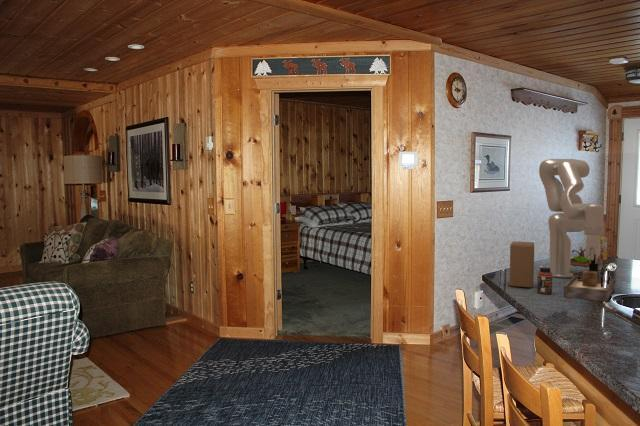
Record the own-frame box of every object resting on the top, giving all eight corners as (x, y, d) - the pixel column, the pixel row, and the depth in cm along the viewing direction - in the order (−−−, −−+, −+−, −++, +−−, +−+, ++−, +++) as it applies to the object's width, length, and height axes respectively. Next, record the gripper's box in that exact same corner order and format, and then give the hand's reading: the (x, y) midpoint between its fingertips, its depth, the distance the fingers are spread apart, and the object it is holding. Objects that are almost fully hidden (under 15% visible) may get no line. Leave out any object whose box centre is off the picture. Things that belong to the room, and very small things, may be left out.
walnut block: (582, 285, 216) (582, 272, 216) (584, 283, 220) (584, 270, 220) (595, 287, 213) (595, 273, 213) (596, 285, 217) (597, 271, 217)
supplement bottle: (545, 295, 212) (546, 268, 212) (533, 292, 218) (534, 266, 217) (555, 293, 215) (555, 267, 214) (543, 290, 220) (543, 265, 220)
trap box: (563, 296, 209) (563, 286, 209) (573, 284, 232) (574, 275, 232) (607, 301, 200) (607, 290, 200) (613, 288, 223) (613, 279, 223)
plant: (556, 266, 283) (556, 246, 282) (567, 262, 297) (568, 243, 296) (595, 270, 269) (595, 250, 268) (605, 266, 283) (605, 246, 282)
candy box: (588, 261, 298) (588, 235, 297) (592, 260, 300) (593, 235, 299) (602, 263, 290) (603, 237, 289) (607, 262, 292) (608, 236, 291)
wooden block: (533, 284, 235) (534, 242, 233) (532, 288, 226) (533, 244, 224) (510, 282, 239) (511, 241, 238) (509, 286, 230) (510, 243, 228)
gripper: (586, 230, 230) (586, 270, 230) (582, 232, 218) (581, 274, 218) (605, 231, 226) (604, 271, 226) (601, 233, 213) (601, 275, 214)
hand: (593, 272), depth 222 cm, fingers closed
